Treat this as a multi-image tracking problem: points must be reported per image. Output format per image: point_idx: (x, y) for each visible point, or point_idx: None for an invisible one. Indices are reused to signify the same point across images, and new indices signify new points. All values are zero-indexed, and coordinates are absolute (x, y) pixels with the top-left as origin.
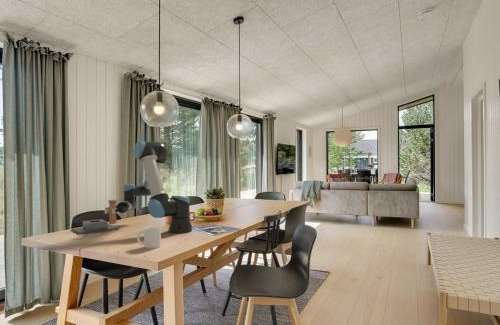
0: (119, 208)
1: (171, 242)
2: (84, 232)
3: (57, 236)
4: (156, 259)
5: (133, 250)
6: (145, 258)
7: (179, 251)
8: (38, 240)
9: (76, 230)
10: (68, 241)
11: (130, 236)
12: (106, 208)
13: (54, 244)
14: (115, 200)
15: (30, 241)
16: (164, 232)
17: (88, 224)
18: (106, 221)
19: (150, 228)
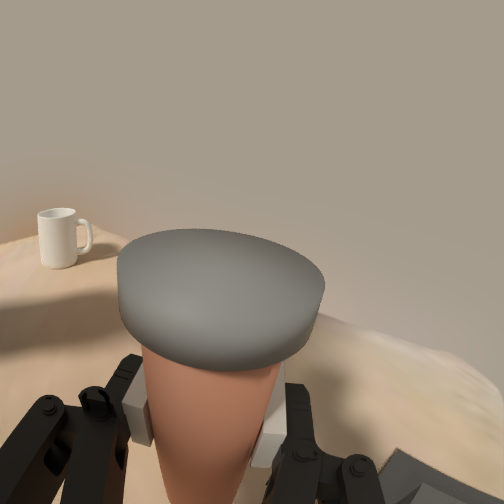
0: (91, 407)
1: (6, 273)
2: (385, 466)
3: (449, 410)
4: (85, 227)
5: (105, 255)
6: (97, 231)
7: (36, 238)
8: (442, 361)
9: (460, 485)
10: (336, 350)
11: (77, 374)
12: (349, 459)
13: (348, 325)
14: (150, 235)
15: (448, 352)
16: None
17: (424, 489)
18: None
19: (54, 222)
